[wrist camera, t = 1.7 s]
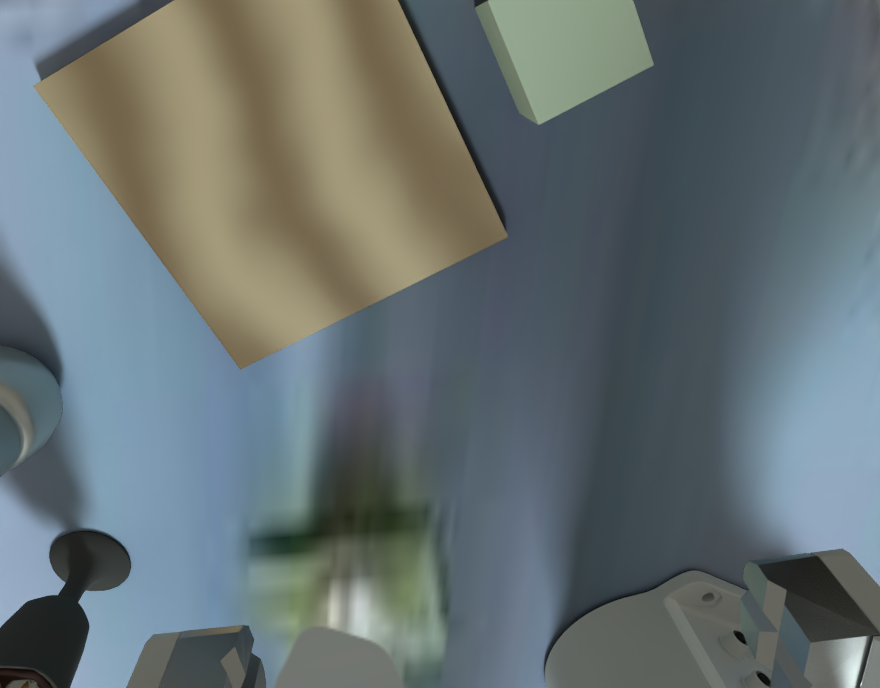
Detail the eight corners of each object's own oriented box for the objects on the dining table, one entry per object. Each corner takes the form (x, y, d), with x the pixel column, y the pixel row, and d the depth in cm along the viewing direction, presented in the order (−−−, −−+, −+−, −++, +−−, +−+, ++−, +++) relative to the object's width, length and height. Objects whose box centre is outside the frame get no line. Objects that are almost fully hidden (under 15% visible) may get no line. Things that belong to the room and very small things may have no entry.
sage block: (577, -50, 28) (611, -69, 23) (616, 61, 30) (653, 65, 25) (474, 7, 29) (487, 0, 24) (519, 113, 31) (538, 124, 26)
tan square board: (349, -102, 27) (348, -106, 26) (506, 232, 33) (508, 236, 32) (42, 85, 29) (33, 86, 28) (243, 362, 35) (240, 369, 35)
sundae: (22, 521, 39) (-180, 773, 26) (134, 518, 40) (-7, 767, 26) (48, 600, 42) (-122, 865, 28) (152, 597, 42) (34, 858, 29)
